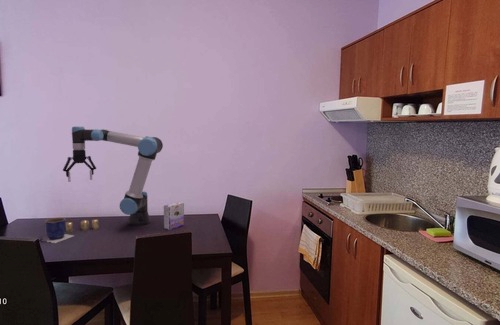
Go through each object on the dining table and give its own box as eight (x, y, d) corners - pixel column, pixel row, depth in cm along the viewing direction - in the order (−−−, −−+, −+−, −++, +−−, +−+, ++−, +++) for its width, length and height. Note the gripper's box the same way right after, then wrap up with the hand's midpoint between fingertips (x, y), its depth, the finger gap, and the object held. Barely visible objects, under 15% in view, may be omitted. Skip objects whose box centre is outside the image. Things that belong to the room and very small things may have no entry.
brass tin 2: (89, 228, 218) (89, 220, 218) (84, 230, 215) (84, 221, 214) (84, 228, 220) (84, 219, 219) (80, 230, 216) (79, 221, 215)
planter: (69, 234, 205) (68, 217, 204) (62, 240, 194) (61, 222, 193) (50, 235, 203) (49, 217, 202) (42, 241, 193) (41, 222, 191)
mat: (74, 236, 203) (74, 235, 203) (54, 243, 190) (54, 242, 190) (57, 233, 208) (57, 233, 208) (37, 240, 195) (37, 239, 194)
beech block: (89, 226, 224) (89, 220, 224) (86, 228, 220) (86, 222, 220) (83, 226, 224) (83, 220, 224) (80, 228, 220) (80, 222, 220)
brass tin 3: (99, 228, 221) (99, 219, 220) (95, 229, 217) (95, 221, 216) (95, 227, 222) (95, 219, 221) (90, 229, 218) (90, 220, 218)
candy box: (178, 224, 232) (178, 201, 231) (184, 225, 229) (184, 202, 227) (163, 228, 221) (163, 205, 220) (169, 230, 218) (169, 206, 216)
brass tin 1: (74, 231, 214) (73, 222, 213) (69, 232, 210) (68, 223, 209) (69, 230, 215) (69, 221, 214) (64, 232, 211) (63, 223, 211)
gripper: (96, 148, 228) (98, 178, 230) (56, 149, 211) (58, 181, 213) (100, 149, 223) (101, 179, 225) (59, 150, 206) (61, 183, 208)
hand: (80, 180), depth 219 cm, fingers open, 13 cm apart
